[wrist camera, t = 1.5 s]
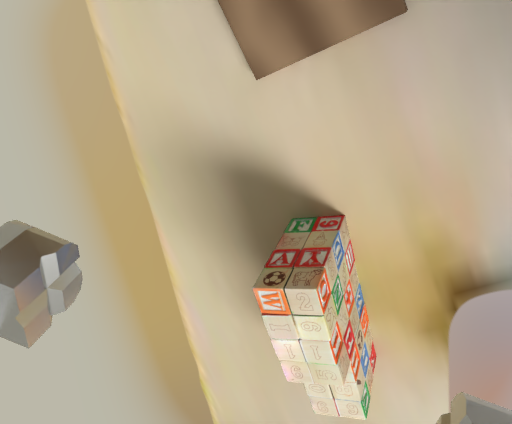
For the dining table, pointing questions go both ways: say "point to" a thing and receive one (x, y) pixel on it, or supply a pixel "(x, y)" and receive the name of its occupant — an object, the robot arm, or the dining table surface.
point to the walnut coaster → (300, 27)
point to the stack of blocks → (319, 315)
